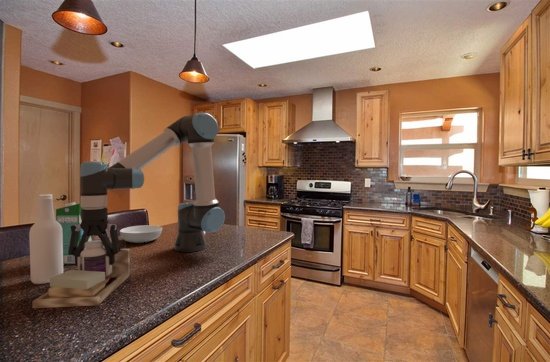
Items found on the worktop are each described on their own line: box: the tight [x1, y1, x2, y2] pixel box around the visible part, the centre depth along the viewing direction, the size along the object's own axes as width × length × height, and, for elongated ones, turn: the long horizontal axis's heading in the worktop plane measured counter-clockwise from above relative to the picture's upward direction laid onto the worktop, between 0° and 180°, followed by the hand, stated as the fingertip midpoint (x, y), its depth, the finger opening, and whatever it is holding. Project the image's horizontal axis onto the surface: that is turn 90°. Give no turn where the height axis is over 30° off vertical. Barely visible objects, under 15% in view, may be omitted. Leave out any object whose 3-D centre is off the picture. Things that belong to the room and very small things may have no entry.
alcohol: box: [28, 193, 64, 285], centre depth 94 cm, size 9×9×30 cm
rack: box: [31, 248, 131, 309], centre depth 87 cm, size 17×22×10 cm
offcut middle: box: [48, 280, 106, 297], centre depth 82 cm, size 12×7×2 cm, turn 95°
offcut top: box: [49, 269, 105, 289], centre depth 82 cm, size 12×7×2 cm, turn 83°
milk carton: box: [55, 201, 93, 265], centre depth 115 cm, size 9×9×25 cm
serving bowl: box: [119, 224, 163, 244], centre depth 148 cm, size 21×21×7 cm
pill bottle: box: [80, 239, 110, 284], centre depth 91 cm, size 8×8×14 cm
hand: (95, 274), depth 91 cm, fingers closed on pill bottle, 8 cm apart
